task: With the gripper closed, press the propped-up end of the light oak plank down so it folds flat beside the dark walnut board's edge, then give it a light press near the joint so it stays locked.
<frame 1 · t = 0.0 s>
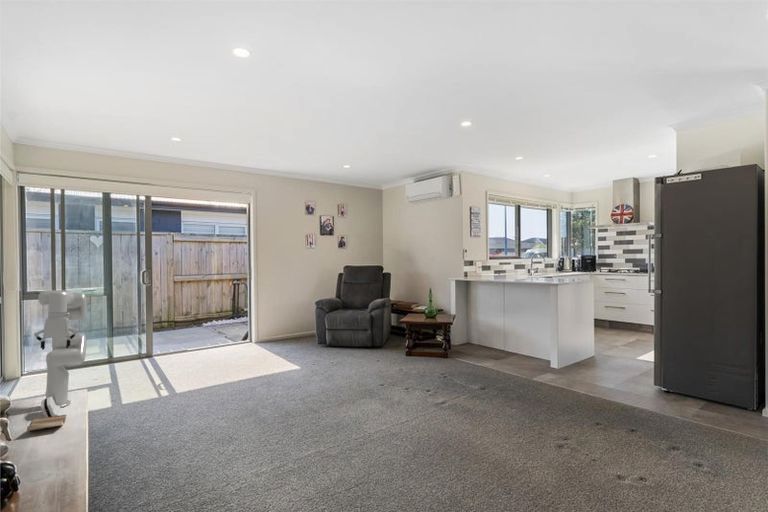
hand: (55, 348, 201), 37 cm above the table, tool pointing down, fingers open, 9 cm apart
hinge: (50, 415, 207), on the table
oak plank: (45, 426, 186), point 3 cm above the table, hinge at 22.0°
walnut board: (48, 423, 195), on the table
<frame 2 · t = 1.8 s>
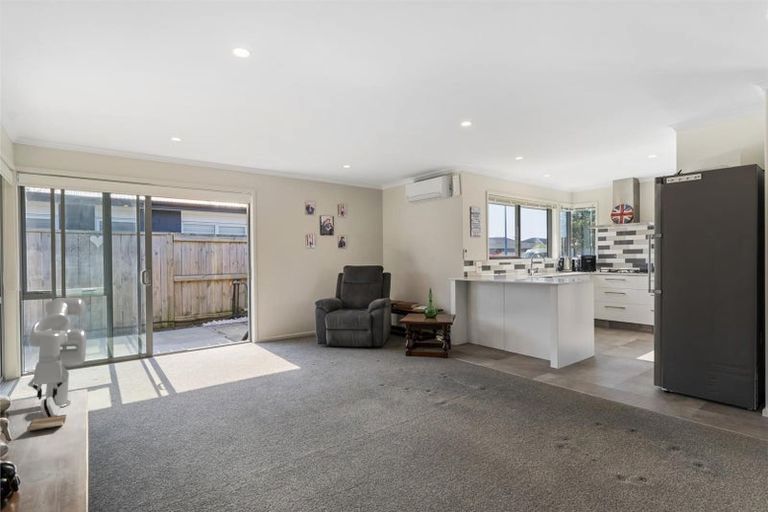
hand: (47, 397, 184), 17 cm above the table, tool pointing down, fingers open, 4 cm apart
nothing on the table moved.
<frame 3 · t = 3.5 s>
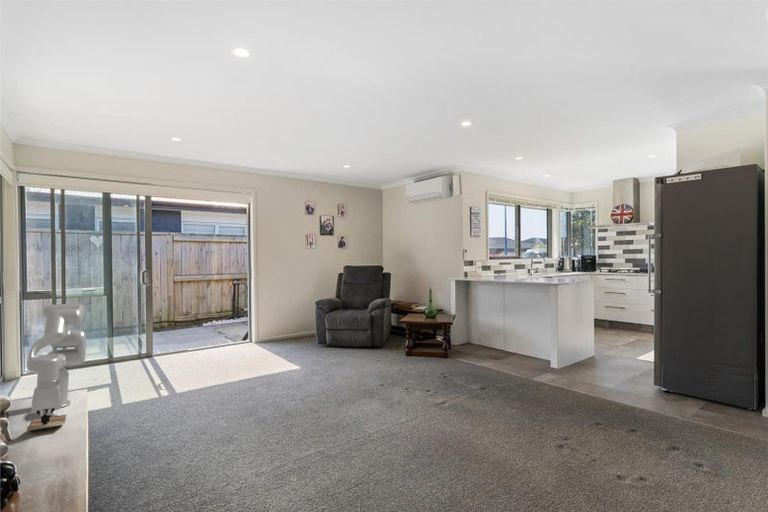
hand: (45, 423, 182), 6 cm above the table, tool pointing down, fingers closed
oak plank: (45, 426, 186), point 3 cm above the table, hinge at 21.8°, touching gripper
everything else where it was.
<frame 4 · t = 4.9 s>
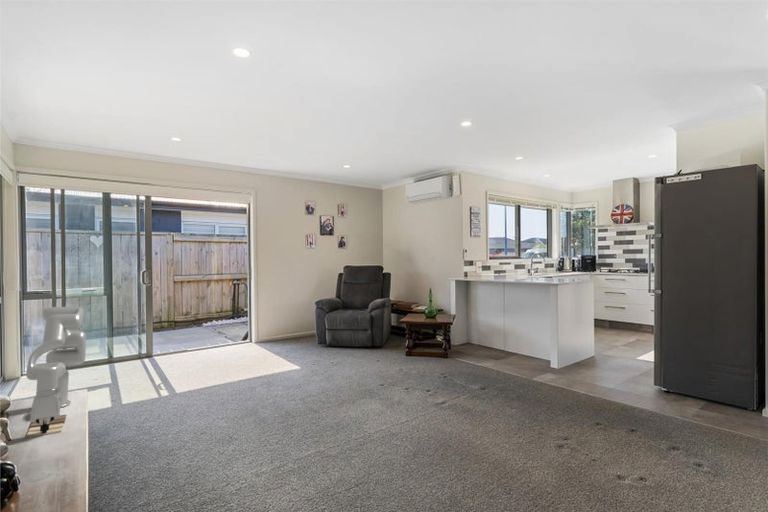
hand: (44, 432, 181), 2 cm above the table, tool pointing down, fingers closed
oak plank: (45, 430, 185), point 1 cm above the table, hinge at 0.7°, touching gripper
everything else where it was.
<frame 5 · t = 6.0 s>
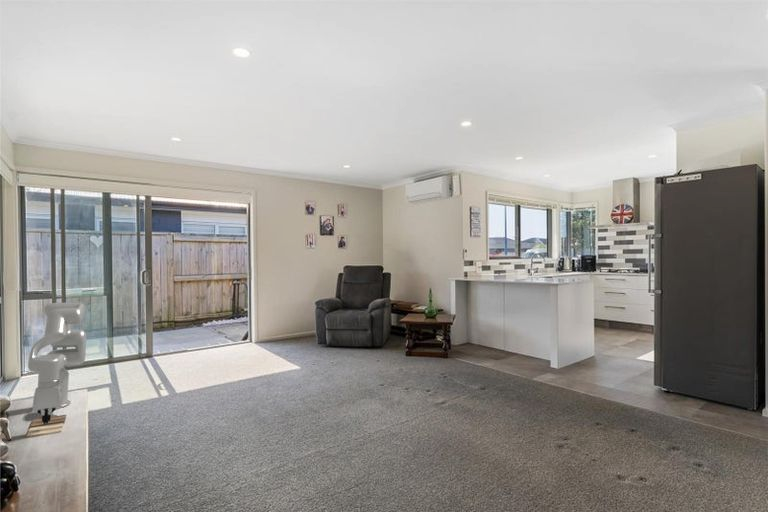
hand: (46, 422, 185), 5 cm above the table, tool pointing down, fingers closed
oak plank: (45, 430, 185), point 1 cm above the table, hinge at 0.3°
everything else where it was.
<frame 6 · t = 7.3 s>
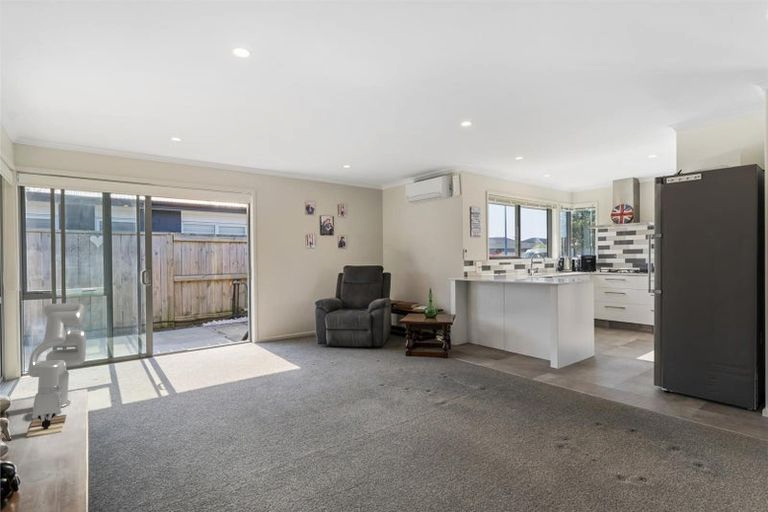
hand: (46, 428, 186), 2 cm above the table, tool pointing down, fingers closed
oak plank: (45, 430, 185), point 1 cm above the table, hinge at 0.0°, touching gripper
everything else where it was.
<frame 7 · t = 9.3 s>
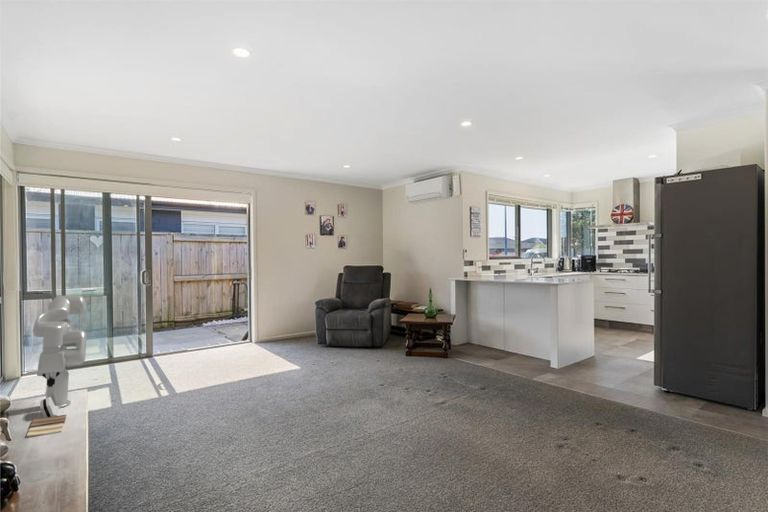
hand: (50, 386, 193), 20 cm above the table, tool pointing down, fingers closed
oak plank: (45, 430, 185), point 1 cm above the table, hinge at 0.0°
everything else where it was.
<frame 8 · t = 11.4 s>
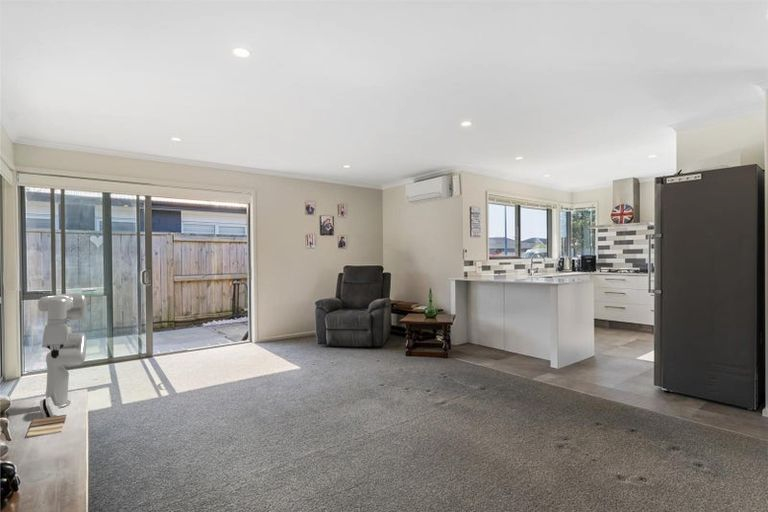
hand: (54, 357, 200), 32 cm above the table, tool pointing down, fingers closed
nothing on the table moved.
at the end: oak plank at +0° (first picture: +22°); hinge moved 1.5 cm from its start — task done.
